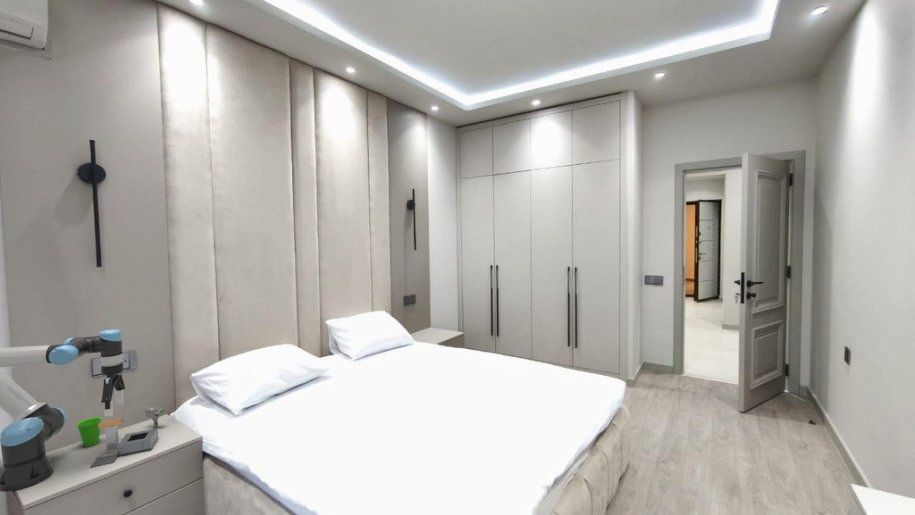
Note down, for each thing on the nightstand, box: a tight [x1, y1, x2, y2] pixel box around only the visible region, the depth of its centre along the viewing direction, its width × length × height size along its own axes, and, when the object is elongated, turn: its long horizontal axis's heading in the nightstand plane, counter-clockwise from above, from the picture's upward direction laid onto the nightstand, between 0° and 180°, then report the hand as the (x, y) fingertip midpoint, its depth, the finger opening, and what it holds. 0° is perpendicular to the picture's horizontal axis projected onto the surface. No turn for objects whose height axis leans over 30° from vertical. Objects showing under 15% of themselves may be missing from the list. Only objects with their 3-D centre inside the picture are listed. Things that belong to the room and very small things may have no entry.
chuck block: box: [116, 427, 159, 458], centre depth 183 cm, size 12×12×5 cm
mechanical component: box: [144, 406, 165, 429], centre depth 202 cm, size 3×10×10 cm, turn 78°
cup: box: [76, 416, 103, 447], centre depth 187 cm, size 9×9×11 cm
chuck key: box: [98, 417, 124, 454], centre depth 181 cm, size 4×8×14 cm, turn 115°
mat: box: [89, 453, 119, 469], centre depth 173 cm, size 8×8×1 cm
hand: (114, 409), depth 181 cm, fingers open, 13 cm apart
